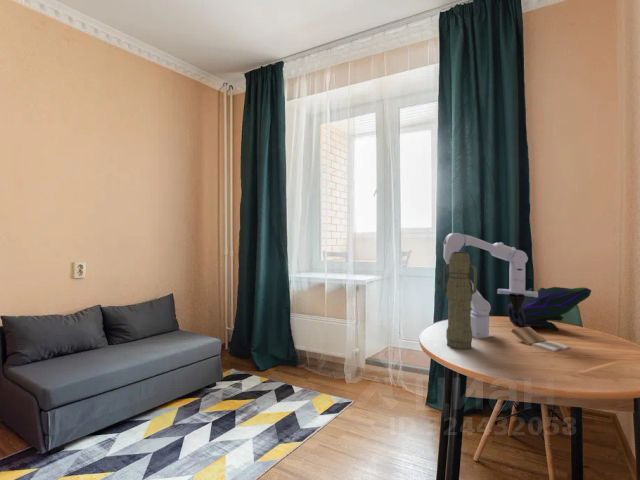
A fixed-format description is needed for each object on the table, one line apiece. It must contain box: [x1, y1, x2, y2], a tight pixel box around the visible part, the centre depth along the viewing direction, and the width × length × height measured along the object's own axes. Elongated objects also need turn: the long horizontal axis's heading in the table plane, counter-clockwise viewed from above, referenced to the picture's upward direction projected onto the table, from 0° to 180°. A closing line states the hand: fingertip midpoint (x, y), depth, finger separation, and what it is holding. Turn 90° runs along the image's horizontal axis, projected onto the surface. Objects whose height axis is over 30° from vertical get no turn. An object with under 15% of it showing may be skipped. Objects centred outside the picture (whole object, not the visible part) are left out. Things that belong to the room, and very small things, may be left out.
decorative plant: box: [505, 286, 592, 332], centre depth 167 cm, size 21×26×30 cm
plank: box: [510, 326, 547, 346], centre depth 143 cm, size 10×8×1 cm
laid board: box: [530, 340, 571, 353], centre depth 136 cm, size 10×8×1 cm
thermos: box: [442, 251, 478, 351], centre depth 138 cm, size 9×12×35 cm
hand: (517, 313), depth 150 cm, fingers closed
